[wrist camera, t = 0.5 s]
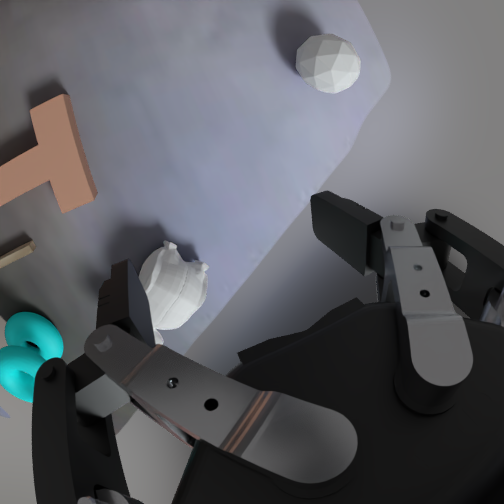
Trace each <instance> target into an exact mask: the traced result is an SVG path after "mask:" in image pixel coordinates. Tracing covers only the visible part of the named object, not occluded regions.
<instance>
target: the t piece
mask: <svg viewBox="0 0 504 504" xmlns="http://www.w3.org/2000/svg"><path fill="white" fill-rule="evenodd" d="M30 114H31V118H32V123H33V127H34V130H35V134H36V138H37V142H38V145H37V146H36V147H34V148H32V149H30V150H28V151H26V152H24V153H23V154H21V155H19V156H17V157H16V158H14V159H12V160H10V161H9V162H7V163H5V164H4V165H2V166H1V167H0V206H2V205H4V204H5V203H7V202H9V201H11V200H12V199H14V198H16V197H18V196H19V195H21V194H23V193H25V192H27V191H29V190H31V189H33V188H34V187H36V186H38V185H40V184H42V183H44V182H46V181H48V180H50V182H51V185H52V188H53V191H54V194H55V196H56V199H57V201H58V204H59V206H60V209H61V211H62V214H63V213H66V212H68V211H70V210H72V209H75V208H77V207H79V206H82V205H84V204H86V203H89V202H91V201H94V200H95V198H96V195H97V193H98V192H97V190H96V187H95V184H94V181H93V178H92V175H91V172H90V169H89V166H88V163H87V159H86V156H85V153H84V150H83V146H82V143H81V139H80V136H79V132H78V129H77V125H76V121H75V117H74V113H73V109H72V105H71V100H70V96H69V95H66V94H61V95H59V96H57V97H55V98H53V99H50V100H48V101H46V102H44V103H42V104H40V105H39V106H37V107H35V108H33V109H31V110H30Z"/></svg>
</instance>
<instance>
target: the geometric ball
mask: <svg viewBox="0 0 504 504" xmlns="http://www.w3.org/2000/svg"><path fill="white" fill-rule="evenodd" d="M360 63H361V60H360V58H359V56H358V54H357V53H356V51H355V49H354V47H353V46H352V44H351V43H350V42H348V41H346V40H344V39H342V38H340V37H338V36H336V35H334V34H324V35H316V36H310V37H309V38H308V39H307V40H306V41H305V42H304V43H303V44H302V45H301V46H300V47H299V48H298V49H297V56H296V69H297V71H298V72H299V74H300V75H301V77H302V79H303V80H304V81H305V83H306V84H307V85H309V86H311V87H313V88H315V89H316V90H319V91H322V92H327V93H338V92H340V91H343V90H345V89H347V88H349V87H351V86H352V84H353V83H354V82H355V81H356V80H357V78H358V76H359V73H360Z"/></svg>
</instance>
